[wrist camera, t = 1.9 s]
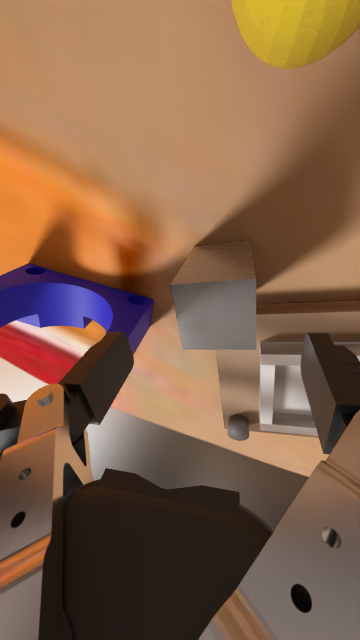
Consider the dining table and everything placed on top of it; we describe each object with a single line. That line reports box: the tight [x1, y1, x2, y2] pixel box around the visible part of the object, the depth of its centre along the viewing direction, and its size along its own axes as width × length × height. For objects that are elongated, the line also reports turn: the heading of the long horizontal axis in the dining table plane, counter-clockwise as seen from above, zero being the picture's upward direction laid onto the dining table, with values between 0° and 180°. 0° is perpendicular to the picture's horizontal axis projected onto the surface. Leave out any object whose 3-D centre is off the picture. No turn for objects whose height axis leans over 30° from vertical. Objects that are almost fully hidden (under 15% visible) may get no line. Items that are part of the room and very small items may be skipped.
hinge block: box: [170, 240, 256, 350], centre depth 15 cm, size 4×4×7 cm
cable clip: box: [0, 263, 154, 354], centre depth 20 cm, size 12×4×6 cm, turn 79°
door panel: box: [216, 300, 360, 441], centre depth 19 cm, size 14×16×3 cm
